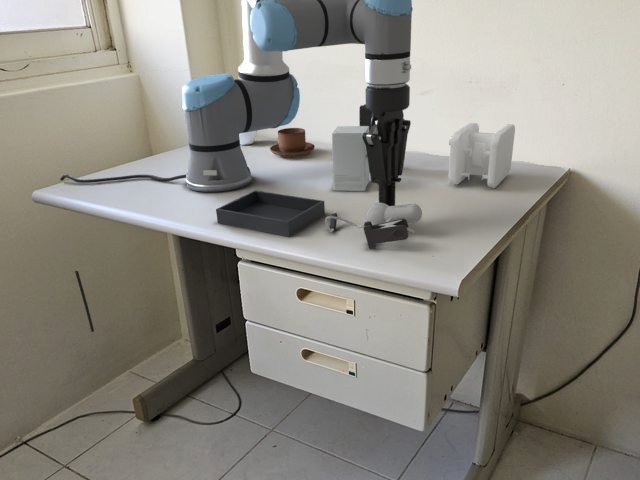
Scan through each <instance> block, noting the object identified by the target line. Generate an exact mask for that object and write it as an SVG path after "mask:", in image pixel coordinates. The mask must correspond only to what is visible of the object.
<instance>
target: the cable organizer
mask: <svg viewBox="0 0 640 480" xmlns="http://www.w3.org/2000/svg"><path fill="white" fill-rule="evenodd" d="M515 134H516V126H515V124H509V123H508V124H505V126H503V127H501V128H500V129H499V130H498V131H497V132H496V133H493V132H490V133H489V132H481V131H480V126H479V123H477V122H469V123H467V124H465V126H463V127H461V128H460V129H458V130H457V131H456V132H454V133H453V134H452V135H451V138H449V140H448V146H449V147H450V148H449V149H450V150H449V162H448V176H447V177H448V180H447V181H448V184H452V185H455V186H457V185H459V184H460V183H461V182H462V181H463V180H465V179H466V178H467V180H470V177H471V176H476V177H477V176H479V177H481V181H484V180H487V183H486V184H487V187H489V188H491V189H496V188H497V187H498V186H499V185H500V183H502V181H503V180H505V179H506V177H507V176H508V175H509V174H510V171H511V168H512V161H513V151H514V144H515Z"/></svg>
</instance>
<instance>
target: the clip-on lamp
mask: <svg viewBox="0 0 640 480" xmlns="http://www.w3.org/2000/svg"><path fill="white" fill-rule="evenodd" d="M422 217H423V210H422V207H421V206H420V205H419V204H417V203H408V204H398V205H395V206H388V205H387V204H385V203H379V202H376V203H373V204H372V205H370V207H369V208H368V211H367V212H366V215H365V220H366V221H365V222H363V223H362V224H356V223H355V222H352V221H350V220H347V219H346V218H345V219H344V218H341V217H339V216H338V213H337V211H336V210H334V211H333V212H332V213H331V214H330V215H329V216H326V217H325V219H324V224H325V226H326V227H327V229H328V231H329V232H331V233H332V232H334V231H335V230H337V220H338V221H341V222H343V223H346V224H349V225H351V226H353V227H356V228H358V229H362V228H363V232H364V235H365V240H366V243H367V247H368V249H369V250H373V249H376V248H377V245H378V244H385V243H391V242H398V241H405V240H407V239H408V238H409V233H411V234H414V232H415V230H414V229H413V228H410V227H409V225H410V224H418V222H420V221H421V219H422ZM328 219H330V221H329V223H328Z"/></svg>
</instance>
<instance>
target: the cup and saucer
mask: <svg viewBox="0 0 640 480" xmlns="http://www.w3.org/2000/svg"><path fill="white" fill-rule="evenodd" d="M306 139H307V138H306V129H305V128H302V127H287V128H282V129H279V130H277V141H278V143H276V144H273V145H271V146H270V148H269V149H270V152H272V154H274V155H276V156H279V157H287V158H292V157H293V158H294V157H301V156H305V155H308V154H310V153H311V152H313V151H314V150H315V148H316V147H315V144H314V143H311V142H307V141H306Z"/></svg>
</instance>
